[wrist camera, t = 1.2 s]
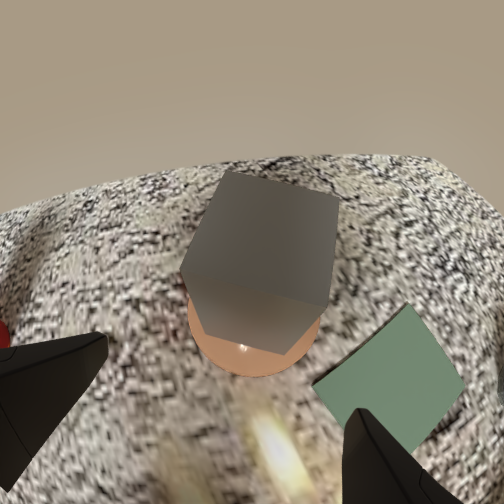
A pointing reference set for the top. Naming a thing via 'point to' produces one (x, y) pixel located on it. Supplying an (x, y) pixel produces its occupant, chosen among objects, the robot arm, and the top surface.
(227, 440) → the top surface
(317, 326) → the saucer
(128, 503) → the top surface
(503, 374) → the mortar and pestle
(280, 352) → the grey tall block
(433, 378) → the mat
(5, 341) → the paper cup
